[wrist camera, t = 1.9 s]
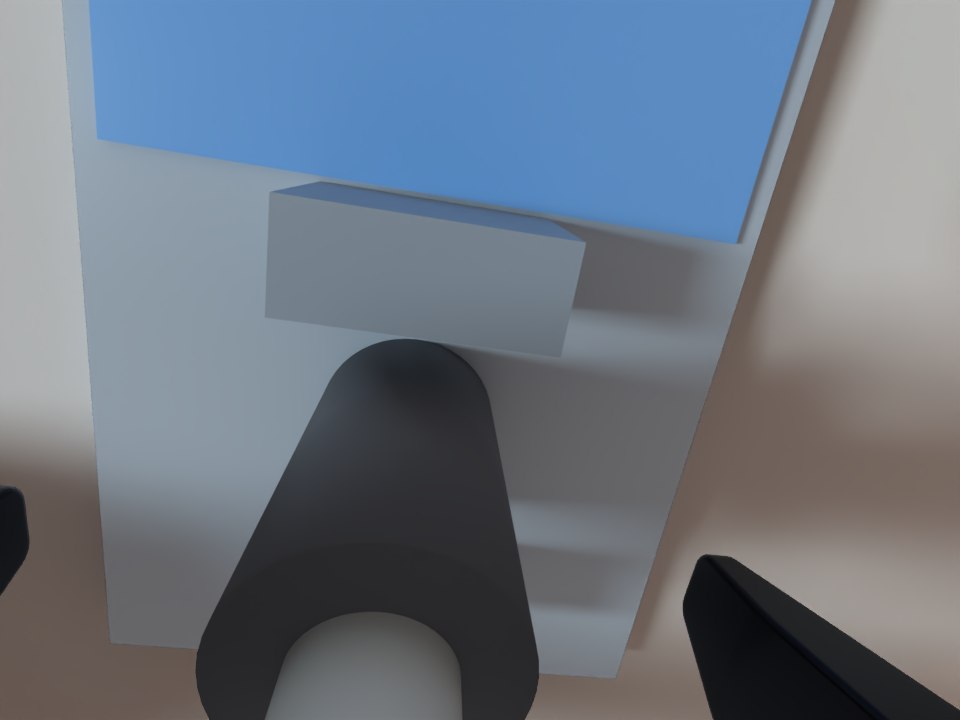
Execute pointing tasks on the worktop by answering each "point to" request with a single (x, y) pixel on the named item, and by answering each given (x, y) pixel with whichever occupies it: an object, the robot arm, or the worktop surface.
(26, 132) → the worktop surface
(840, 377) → the worktop surface
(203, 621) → the lever switch plate
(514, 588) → the knob
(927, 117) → the worktop surface
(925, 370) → the worktop surface
